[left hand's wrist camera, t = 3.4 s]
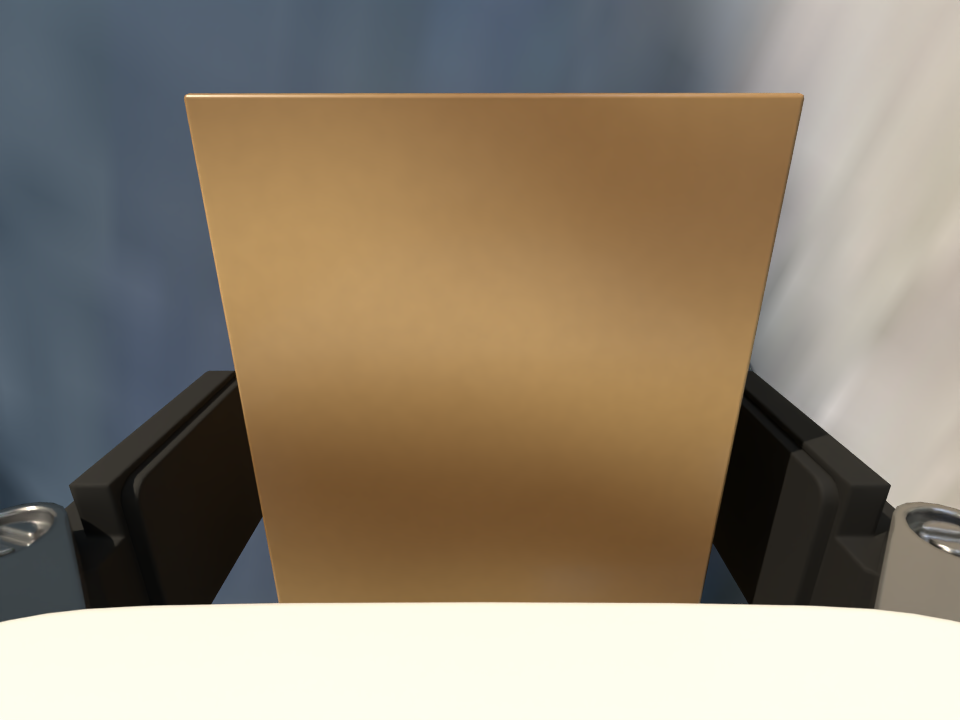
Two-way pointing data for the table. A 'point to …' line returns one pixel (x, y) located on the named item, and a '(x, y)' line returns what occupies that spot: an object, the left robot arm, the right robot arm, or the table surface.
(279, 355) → the post
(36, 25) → the table surface
